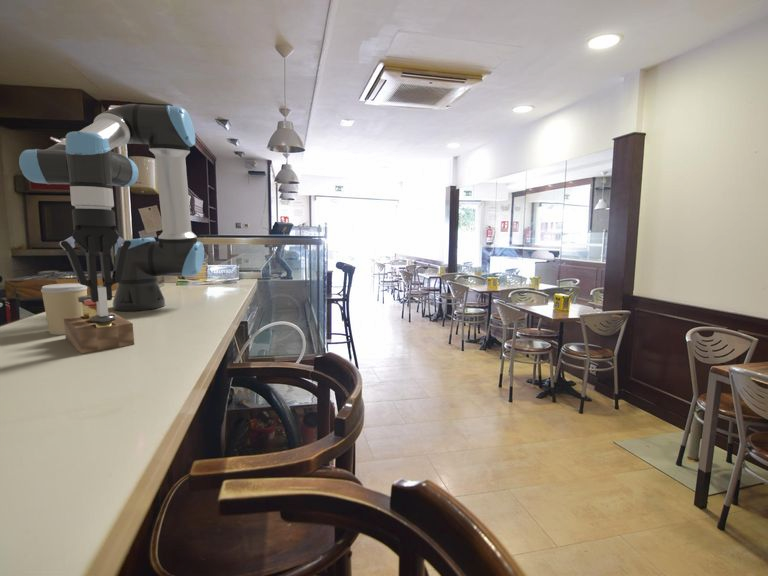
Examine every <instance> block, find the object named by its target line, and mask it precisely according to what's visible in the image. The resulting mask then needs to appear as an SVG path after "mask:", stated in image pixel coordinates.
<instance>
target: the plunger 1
mask: <svg viewBox="0 0 768 576" xmlns="http://www.w3.org/2000/svg"><path fill="white" fill-rule="evenodd" d="M87 299H90V295H87V296H81V297H78V301H79V302H82V305H83V315H84V319H89V311H88V306H85V305H84V300H87Z"/></svg>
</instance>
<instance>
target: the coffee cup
mask: <svg viewBox="0 0 768 576" xmlns="http://www.w3.org/2000/svg"><path fill="white" fill-rule="evenodd" d="M40 292H41V295H42V301H43V307H44V311H45V316H46V321H47V326H48V330H49V334H51V335H58V336H61V335H65V326H64V318H71V317H79V316H84V315H83V305H82V302H79V301H78V297H81V296H88V286H85V285H81V284H79V282H72V283H71V282H69V283H68V282H66V283H65V282H64V283H54V284H53V283H52V284H46V285H43V286H42V287H41V289H40Z"/></svg>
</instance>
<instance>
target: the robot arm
mask: <svg viewBox="0 0 768 576" xmlns="http://www.w3.org/2000/svg"><path fill="white" fill-rule="evenodd" d="M129 144H130V145H131V144H134V145H135V144H137V145H148V151H149V152H151V153H152V154H153V155H154V157H155V166H156V167H155V168H156V169H155V170H156V177H157V186H158V197H159V206H160V207H159V208H160V216H161V228H162V232H161V233H160V234H159V235H158V237H157V238H158V241H156V239H155V237H154V236H153V237H143V238H142V237H139V238H131V239H125V238H122V236H120V234H119V232H118V230H117V224H116V212H115V211H114V210H113V209H112V208H114V207H115V201H114V191H113V186H114V187H117V188H127V187H131V186H133V185H134V184H135V183H136V182H137V181H138V178H139V175H140V173H139V169H138V168H139V167H138V166H137V164H136V163H135V162H134V161H133V160H132V159H130V158H128V157H127V156H125V155H123V154H122V153H116V152H113V151H112V150H113V149H115V148H121V147H124V146H125V145H129ZM195 144H196V132H195V127H194V124H193V121H192V118H191V116H190V115H189V112H187V110H186V109H185V108H183V107H181V106H175V105H169V104H167V105H165V104H164V105H163V104H139V103H129V104H123V105H120V106H116V107H113V108H111V109H108V110H105V111H104V112H101V113H100V114H98V115H97V116H95V117H94V119H93V123H91V124H89V125H87V126H85V127H83V128H82V129H81V130H78V131H70V132H67V134H65V138H63V140H61V141H59V142H58V143H55V144H54V145H52V146H50V147H48V148H46V149H39V148H35V149H24V150H23V151H22V152H21V153H20V155H19V158H18V159H19V161H18V164H19V168H20V170H21V172H22V175H23V176H24V178H25V179H27V180H28V181H30V182H32V183H34V184H47V185H69V190H70V191H69V192H70V193H69V194H70V203H71V206H72V207H74V208H73V209H72V210H71V216H72V224H73V228H72V229H73V230H72V232H71V235H70V237H68V238H66V239H64V240H61V241H59V242H58V245H59V246H60V247H61V248H62V249H63V251H64V252H65V253H66V255H67V258H68V260H69V263H70V265H71V267H72V270H73V273H74V275H75V278H76V280H77V283H79V284H81V285H85V286H87V288H89V296H90V299H91V301H93V302H96V304H97V315H98V316H100V317H103V316H108V313H109V308H108V301H112V310H115V311H119V312H120V311H121V312H136V311H139V312H140V311H147V310H149V311H150V310H153V309H155V310H156V309H160V308H162V307H164V306H166V301H165V297H164V295H163V291H162V289H161V287H160V285H159V281H158V277H183V278H184V277H193V276H197V275H198V274H199V273H200V272H201V271H202V268H203V264H204V262H205V261H204V260H205V248H204V243H203V242H201V241H198V235H196V234H195V233H194V232H193V231H192V222H191V221H192V220H191V209H190V198H189V185H188V176H187V175H188V174H187V164H186V158H187V156H188V155H189V154H190V153H191V150H190V148H191V147H193V146H195ZM75 243H77V245H79V246H80V248H81V249H83V251H84V252H85V253H84V254H85V259H86V260H85V261H86V272H87V276H86V275H85V272H84V269H83V267H82V265H81V262H80V259H79V257H78V255H77V253H76V251H75V249H74V248H75V247H76V244H75ZM113 246H114V259H115V260H114V265H113V269H112V271H111V262H110V256H111V255H110V250H111V249H112V247H113ZM96 252H98V254H99V258H100V271H101V282H102V285H99V283H98V282H99V281H98V271H97V261H96V260H97V259H96V255H97V253H96ZM115 284H116V285H117V286H116V290H115V293H114V297H113V291H112V288H113V287H112V286H113V285H115Z"/></svg>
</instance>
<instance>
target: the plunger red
mask: <svg viewBox="0 0 768 576" xmlns="http://www.w3.org/2000/svg"><path fill="white" fill-rule="evenodd" d="M84 305H85V306H88V311H89V321H90V323H93V322H92V321H91V317H92V316H96V315H97V304H96V302H93V301H91V299H87V300H84Z"/></svg>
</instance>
